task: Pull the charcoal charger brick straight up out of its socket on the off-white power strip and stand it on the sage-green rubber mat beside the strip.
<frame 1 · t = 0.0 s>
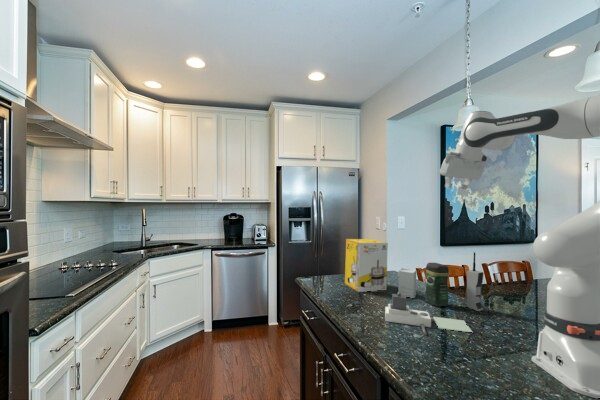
hand: (455, 188, 116), 52 cm above the counter, tool tilted 20°, fingers open, 8 cm apart
supplement box: (407, 296, 144), on the counter
packaging box: (364, 287, 157), on the counter
charger: (398, 311, 113), point 3 cm above the counter, touching power strip
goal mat: (451, 325, 109), on the counter
coffee jar: (436, 304, 133), on the counter
power strip: (406, 320, 112), on the counter
vintage mobile phone: (474, 310, 127), on the counter
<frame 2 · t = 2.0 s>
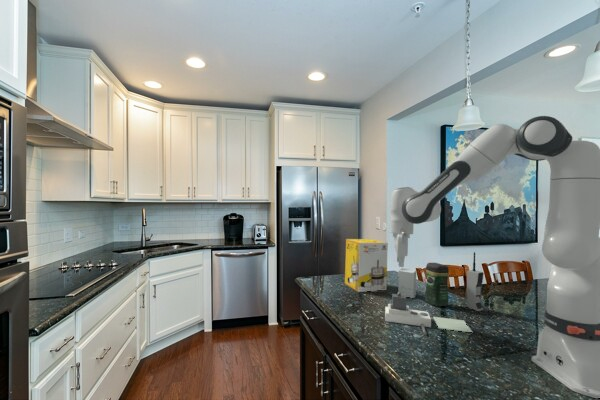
hand: (400, 264, 113), 21 cm above the counter, tool pointing down, fingers open, 8 cm apart
nothing on the counter moved.
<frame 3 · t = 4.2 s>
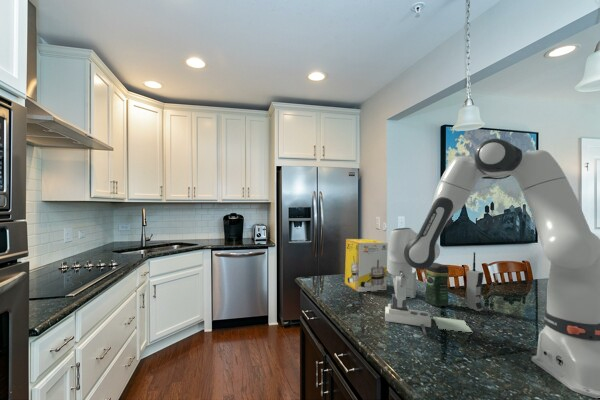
hand: (399, 304, 113), 6 cm above the counter, tool pointing down, fingers closed on charger, 4 cm apart
charger: (398, 311, 113), point 3 cm above the counter, touching gripper, power strip
everything else where it was.
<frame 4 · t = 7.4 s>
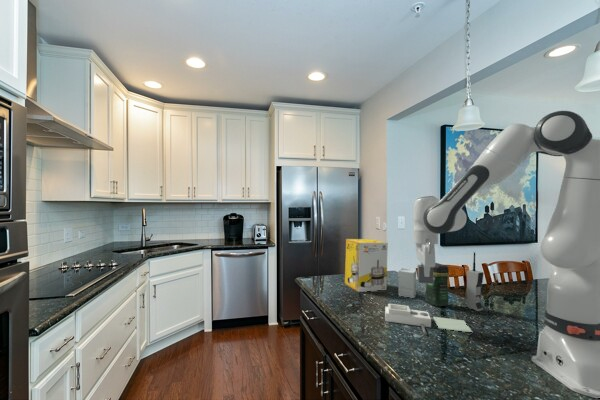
hand: (425, 275, 111), 18 cm above the counter, tool pointing down, fingers closed on charger, 4 cm apart
charger: (425, 281, 111), point 15 cm above the counter, touching gripper
everything else where it was.
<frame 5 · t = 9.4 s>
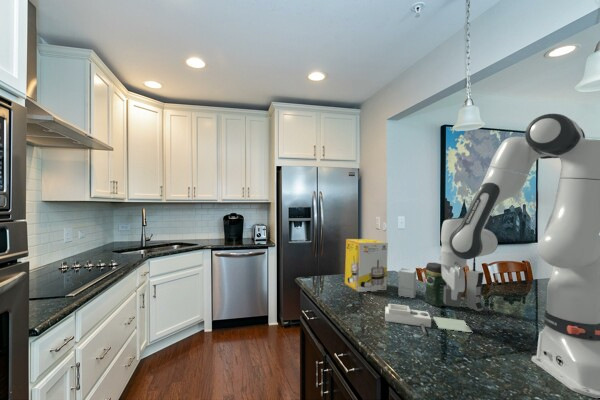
hand: (452, 297, 109), 10 cm above the counter, tool pointing down, fingers closed on charger, 4 cm apart
charger: (451, 304, 109), point 8 cm above the counter, touching gripper
everything else where it was.
when the fingers open (4 cm above the counter, at t = 10.9 s): charger drops 1 cm, resting on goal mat.
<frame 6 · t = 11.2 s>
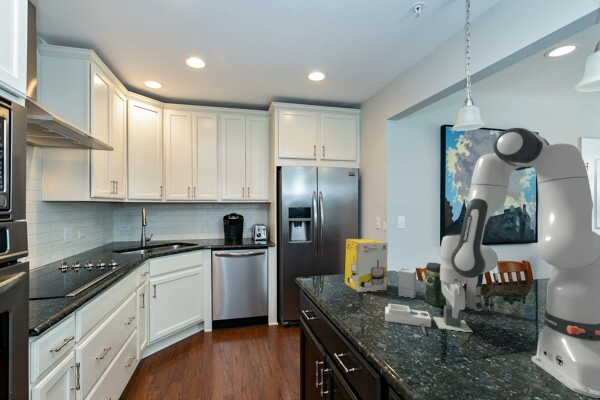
hand: (452, 313, 109), 4 cm above the counter, tool pointing down, fingers open, 6 cm apart
charger: (451, 323, 109), resting on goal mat
everything else where it was.
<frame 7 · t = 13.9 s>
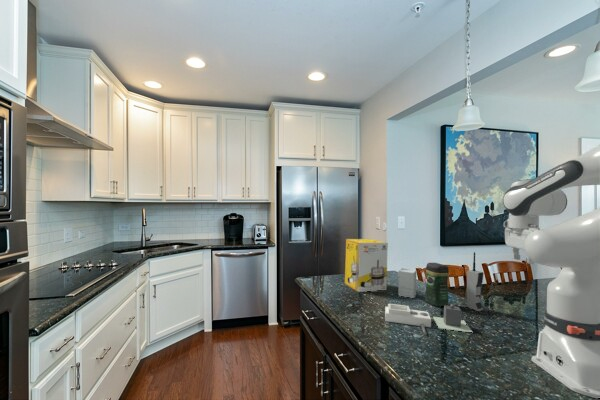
hand: (523, 261, 107), 25 cm above the counter, tool pointing down, fingers open, 8 cm apart
nothing on the counter moved.
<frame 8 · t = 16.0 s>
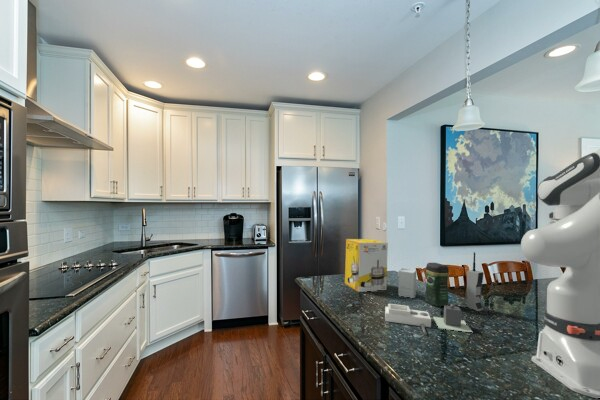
hand: (570, 253, 105), 29 cm above the counter, tool pointing down, fingers open, 8 cm apart
nothing on the counter moved.
at the end: charger inside the target area (0.0 cm from its centre), point 0.5 cm above the counter; charger tilted 0°; the gripper is holding nothing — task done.
